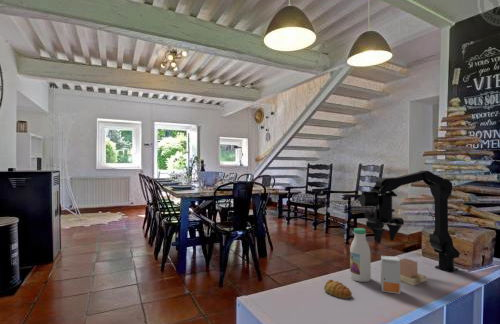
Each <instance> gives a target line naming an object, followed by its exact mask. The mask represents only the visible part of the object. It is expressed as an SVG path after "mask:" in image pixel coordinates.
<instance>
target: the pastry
mask: <svg viewBox="0 0 500 324" xmlns="http://www.w3.org/2000/svg"><path fill="white" fill-rule="evenodd" d="M323 290H324V291H325V292H326V293H327V294H329V295H331V296H334V297H336V298H339V299H345V300H347V299H350V298H351V297H352V294H353V293H352V291H351V290H350V287H349V288H348V287H347V286H346V285H345V284H344V283H342V282H339V281H338V280H337V281H335V280H334V279H328V280H327V281H326V282H325V284H324V287H323Z"/></svg>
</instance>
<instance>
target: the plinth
mask: <svg viewBox="0 0 500 324" xmlns="http://www.w3.org/2000/svg"><path fill="white" fill-rule="evenodd" d="M426 276H427V275H424V274H422V273H419V272H418V275H415V276H412V277H409V276H406V275H403V274H400V283H404V284H407V285H410V286H416V285H418V284H421V283H423V282H426V279H427V277H426Z"/></svg>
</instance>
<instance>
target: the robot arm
mask: <svg viewBox="0 0 500 324" xmlns="http://www.w3.org/2000/svg"><path fill="white" fill-rule="evenodd" d="M418 182H423V183H424V184H425V185H427V186H429V190H430V193H431V195H432V196H433V200H434V202H433V203H434V207H433V208H434V231H433V233H429V235H428V236H429V241H428V243H429V244H430V246H431V247H432V249H433V251H434V253H437V254H438V265H435V266H434V267H435V269H440V270H443V271H446V272H449V273H452V272H454V271H458V270H459V268H458V267H455V259H456V258H459V257H460V254H461V253H460V251H458V249H457V248H456V247H454V242H453V238H452V237H451V234H450V233H449V207H448V206H449V204H448V203H449V201H448V200H449V198H450V196H451V195H452V190H453V183H452V181H450V179H447V178H443V177H441V176H439V175H437V174H435V173H433V172H432V171H430V170H420V171H417V172H413V173H408V174H404V175H400V176H395V177H380V178H378V179H377V180H375V185H374V186H373V187H372V189H371V190H370V191H368V190H367V191H365V190H363V191H361V194H360V196H359V204H360V206H361V207H363V208H365V207H366V208H367V207H369V208H370V207H372V208H373V207H376V208H375V209H374V211H372V212H371V210H367V211H364V218H365V219H366V222H365V227H366V228H368V229H370V230H371V231H372V233H373V234H374V238H375V241H376V243H377V244H378V245H380V244H381V243H382V238H383V235H384V231H385V228H384V227H385V226H387V227H388V233H389V239H390V241H391V242H393V241H394V240H395V238H396V236H397V234H398V233H399V231H400V229H401V228H402V227H403V225H404V224H405V220H404V219H403V217H397V216H393V212H395V208H393V197H398V194H396V193H395V190H396V189H398V188H400V187H401V186H405V185H410V184H413V183H418Z"/></svg>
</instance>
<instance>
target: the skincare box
mask: <svg viewBox="0 0 500 324" xmlns="http://www.w3.org/2000/svg"><path fill="white" fill-rule="evenodd" d="M400 260H401V259H400V257H399V256H398V257H396V256H392V255H391V256H390V255H389V256H388V255H380V289H381V292H382V293H383V292H384V293H388V294H389V293H391V294H396V295H400V294H401V281H400Z"/></svg>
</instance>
